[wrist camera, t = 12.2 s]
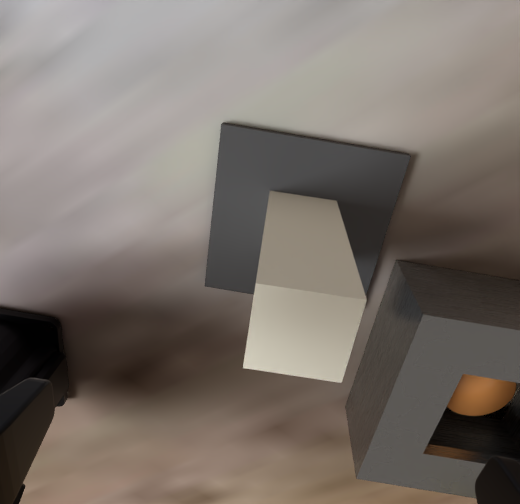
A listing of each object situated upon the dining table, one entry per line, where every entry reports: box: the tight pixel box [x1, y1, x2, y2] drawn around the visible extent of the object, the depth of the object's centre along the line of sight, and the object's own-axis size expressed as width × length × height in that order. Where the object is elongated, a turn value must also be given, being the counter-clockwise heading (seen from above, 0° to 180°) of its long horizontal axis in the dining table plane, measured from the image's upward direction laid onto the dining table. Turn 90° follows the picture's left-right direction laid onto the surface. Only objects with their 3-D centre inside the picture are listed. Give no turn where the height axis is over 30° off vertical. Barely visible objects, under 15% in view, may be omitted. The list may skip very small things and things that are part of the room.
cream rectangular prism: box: [243, 191, 367, 383], centre depth 15 cm, size 3×3×8 cm
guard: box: [345, 260, 520, 498], centre depth 20 cm, size 10×10×4 cm
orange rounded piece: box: [447, 374, 516, 416], centre depth 20 cm, size 3×3×2 cm
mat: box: [205, 123, 411, 296], centre depth 19 cm, size 8×8×1 cm
